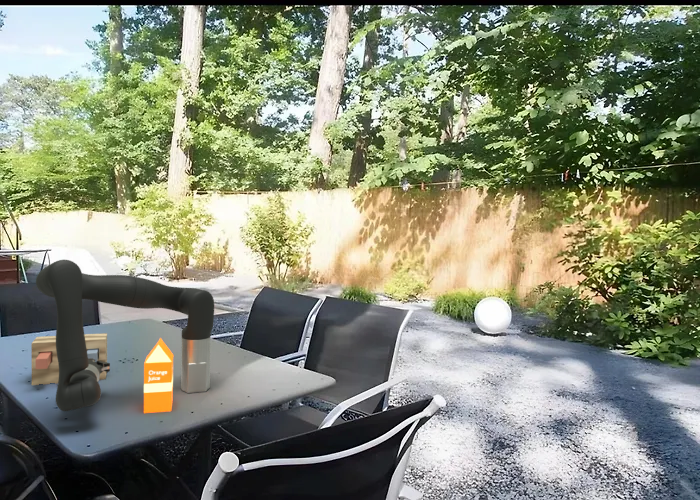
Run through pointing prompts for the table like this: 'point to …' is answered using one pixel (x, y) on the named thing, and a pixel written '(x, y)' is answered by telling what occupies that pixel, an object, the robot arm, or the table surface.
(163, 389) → the orange juice
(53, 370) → the key box
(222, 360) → the table surface
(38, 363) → the red key
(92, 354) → the blue key
